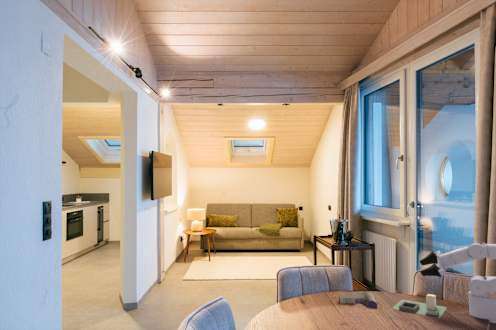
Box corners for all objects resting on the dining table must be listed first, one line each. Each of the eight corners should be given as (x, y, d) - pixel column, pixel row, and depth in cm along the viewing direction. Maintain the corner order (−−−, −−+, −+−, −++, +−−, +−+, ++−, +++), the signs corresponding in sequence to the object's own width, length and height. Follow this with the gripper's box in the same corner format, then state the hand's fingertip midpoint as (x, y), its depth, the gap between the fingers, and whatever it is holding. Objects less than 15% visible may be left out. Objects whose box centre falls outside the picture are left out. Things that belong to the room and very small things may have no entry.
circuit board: (447, 309, 145) (446, 305, 145) (440, 320, 132) (439, 315, 133) (402, 301, 156) (401, 297, 156) (391, 310, 144) (391, 306, 144)
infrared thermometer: (338, 303, 158) (372, 301, 156) (343, 312, 146) (379, 310, 144) (337, 293, 158) (371, 291, 157) (342, 301, 146) (378, 299, 145)
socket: (419, 308, 144) (419, 304, 144) (415, 312, 138) (414, 309, 138) (404, 305, 148) (403, 301, 148) (399, 309, 142) (399, 306, 142)
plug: (436, 307, 145) (435, 294, 145) (434, 310, 141) (433, 297, 142) (428, 305, 147) (428, 293, 147) (426, 308, 143) (425, 295, 144)
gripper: (446, 241, 148) (415, 251, 155) (450, 260, 135) (416, 271, 142) (455, 254, 148) (423, 264, 155) (459, 274, 136) (425, 284, 143)
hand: (421, 268), depth 149 cm, fingers open, 7 cm apart
